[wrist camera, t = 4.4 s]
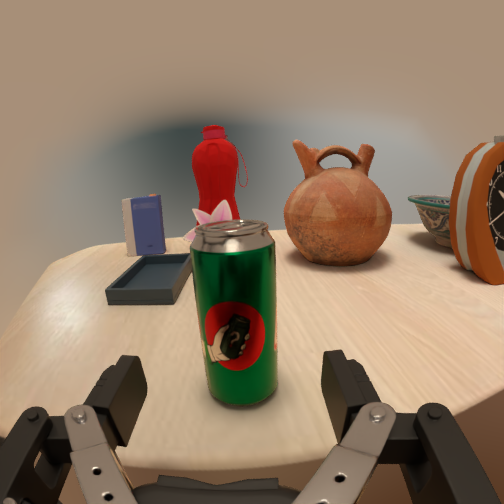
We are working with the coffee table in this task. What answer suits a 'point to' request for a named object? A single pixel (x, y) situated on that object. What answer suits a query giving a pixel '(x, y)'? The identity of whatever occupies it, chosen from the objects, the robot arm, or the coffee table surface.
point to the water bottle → (215, 171)
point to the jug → (337, 208)
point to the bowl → (434, 215)
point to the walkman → (143, 225)
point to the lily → (210, 217)
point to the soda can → (237, 308)
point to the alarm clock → (480, 212)
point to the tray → (151, 280)
